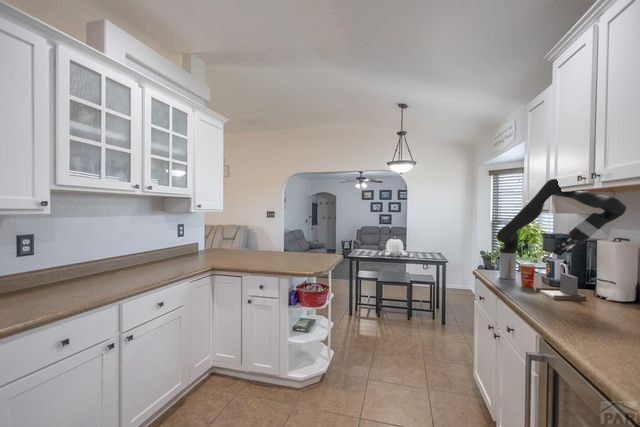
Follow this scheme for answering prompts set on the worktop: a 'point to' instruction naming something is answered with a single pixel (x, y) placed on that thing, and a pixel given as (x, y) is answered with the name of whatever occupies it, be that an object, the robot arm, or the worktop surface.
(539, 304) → the worktop surface
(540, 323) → the worktop surface
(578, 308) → the worktop surface
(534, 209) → the robot arm
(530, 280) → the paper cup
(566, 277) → the grey open angular piece
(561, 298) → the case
